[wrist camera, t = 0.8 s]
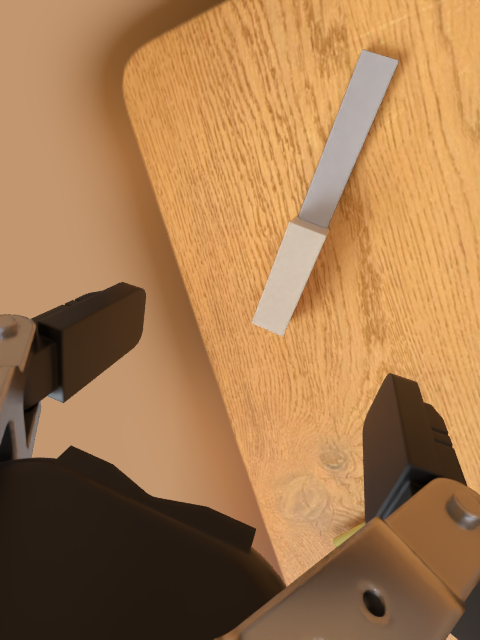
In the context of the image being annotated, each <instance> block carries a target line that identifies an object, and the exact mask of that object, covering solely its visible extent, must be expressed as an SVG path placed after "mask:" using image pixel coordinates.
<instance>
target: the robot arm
mask: <svg viewBox="0 0 480 640" xmlns="http://www.w3.org/2000/svg"><path fill="white" fill-rule="evenodd" d="M145 301H146V293H145V290H143V289H142V288H139V287H136V286H133V285H130V284H127V283H124V282H121V283H118V284H116V285H114V286H112V287H110V288H107V289H105V290H103V291H98V292H93V293H88V294H85V295H83V296H81V297H79V298H77V299H75V301H74V300H72V301H70V302H68V303H65V305H61V306H58V307H56V308H54V309H52V310H50V311H47V312H45V313H43V314H41V315H38V316H36V317H34V318H32V319H29V318H27V317H24V316H20V315H10V314H8V315H7V314H5V315H0V640H446V638H447V637H448V635H449V634H450V633H451V634H452V635H453V636H454V637H456V638H457V639H458V640H480V495H479V494H478V493H476V492H475V491H474V490H472V489H471V488H469V487H468V486H467V484H466V481H465V478H464V475H463V472H462V470H461V467H460V464H459V461H458V459H457V456H456V453H455V450H454V448H452V446H453V445H452V442H451V439H450V437H449V436H448V431H447V428H446V425H445V423H444V420H443V418H442V417H441V416H440V415H439V414H438V412H437V411H436V410H435V409H434V408H433V406H432V405H430V404H427V403H424V402H423V399H422V396H421V393H420V389H419V386H418V383H417V382H415V381H412V380H409V379H406V378H403V377H400V376H397V375H394V374H392V373H389V374H388V375H387V376H386V378H385V379H384V381H383V383H382V385H381V387H380V389H379V391H378V393H377V395H376V397H375V399H374V401H373V403H372V405H371V407H370V409H369V411H368V413H367V416H366V419H365V422H364V426H363V465H364V498H365V525H364V526H363V527H362V528H360V529H359V530H358V531H357V532H355V533H354V534H353V535H352V536H350V537H349V538H348V539H347V540H345V541H344V542H343V543H342V544H340V545H339V546H338V547H337V548H335V549H334V550H333V551H332V552H330V553H329V554H328V555H326V556H325V557H324V558H323V559H321V560H320V561H319V562H318V563H316V564H315V565H314V566H313V567H311V568H310V569H309V570H308V571H306V572H305V573H304V574H303V575H301V576H300V577H299V578H298V579H296V580H295V581H294V582H293V583H291V584H290V585H289V586H288V587H286V585H285V584H284V582H283V581H282V579H281V577H280V576H279V575H278V574H277V572H276V571H275V570H274V569H273V567H272V566H271V565H270V564H269V563H268V562H267V561H266V560H265V559H264V557H263V556H262V555H261V554H260V553H258V552H257V551H256V550H255V549H254V548H252V547H251V546H252V542H253V539H254V535H255V531H256V529H255V528H253V527H251V526H249V525H246V524H244V523H242V522H240V521H238V520H235V519H233V518H231V517H229V516H227V515H224V514H222V513H220V512H218V511H215V510H213V509H211V508H209V507H206V506H200V505H195V504H189V503H184V502H178V501H173V500H167V499H162V498H156V497H153V496H151V495H149V494H147V493H146V492H145V491H144V490H143V489H141V488H140V487H139V486H138V485H137V484H135V483H134V482H133V481H132V480H131V479H130V478H128V477H127V476H126V475H125V474H124V473H122V472H121V471H120V470H119V469H118V468H117V467H115V466H114V465H113V464H111V463H109V462H107V461H104V460H102V459H100V458H98V457H95V456H93V455H91V454H89V453H87V452H84V451H82V450H80V449H78V448H75V447H73V446H70V447H69V448H68V449H67V450H66V451H65V452H64V453H62V454H61V455H60V456H59V457H58V458H57V459H55V458H31V457H32V451H33V446H34V441H35V437H36V432H37V427H38V421H39V417H40V412H41V400H42V399H43V398H45V397H46V396H48V397H50V398H53V399H55V400H57V401H60V402H62V403H64V402H65V401H67V400H68V399H69V398H71V397H72V396H73V395H74V394H76V393H77V392H78V391H79V390H81V389H82V388H83V387H84V386H86V385H87V384H88V383H90V382H91V381H92V380H93V379H95V378H96V377H97V376H99V375H100V374H101V373H102V372H104V371H105V370H106V369H107V368H109V367H110V366H111V365H113V364H114V363H115V362H116V361H117V360H119V359H120V358H121V357H123V356H124V355H125V354H127V353H128V352H129V351H130V350H132V349H133V348H134V347H135V346H136V345H137V343H138V342H139V340H140V338H141V335H142V331H143V323H144V312H145Z"/></svg>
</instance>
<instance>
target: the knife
mask: <svg viewBox="0 0 480 640" xmlns="http://www.w3.org/2000/svg"><path fill="white" fill-rule="evenodd" d="M398 63H399V60H397V59H393V58H390V57H387V56H384V55H380V54H377V53H374V52H370V51H367V50H362V52H361V54H360V57H359V60H358V62H357V65H356V67H355V70H354V73H353V75H352V78H351V80H350V83H349V86H348V88H347V91H346V93H345V96H344V99H343V101H342V104H341V106H340V109H339V112H338V114H337V117H336V119H335V122H334V125H333V127H332V130H331V133H330V135H329V138H328V140H327V143H326V146H325V148H324V151H323V153H322V156H321V159H320V161H319V164H318V166H317V169H316V172H315V174H314V177H313V179H312V182H311V185H310V187H309V190H308V193H307V195H306V198H305V200H304V203H303V206H302V208H301V211H300V213H299V216H298V217H295V218H294V219H293V220H291V221H290V222H289V224H288V227H287V229H286V232H285V235H284V237H283V240H282V243H281V245H280V248H279V251H278V254H277V256H276V259H275V262H274V264H273V267H272V270H271V272H270V275H269V278H268V280H267V283H266V286H265V288H264V291H263V294H262V296H261V299H260V302H259V304H258V307H257V310H256V312H255V315H254V318H253V320H252V323H253V324H255V325H257V326H260V327H262V328H264V329H267V330H269V331H271V332H274V333H276V334H278V335H280V336H284V333H285V331H286V329H287V327H288V324H289V322H290V320H291V317H292V315H293V313H294V311H295V308H296V306H297V304H298V301H299V299H300V297H301V294H302V292H303V290H304V288H305V285H306V283H307V281H308V278H309V276H310V274H311V271H312V269H313V267H314V265H315V262H316V260H317V258H318V255H319V253H320V251H321V248H322V246H323V244H324V242H325V239H326V237H327V235H328V232H329V228H327V227H328V225H329V223H330V221H331V218H332V216H333V214H334V211H335V209H336V207H337V204H338V202H339V200H340V197H341V195H342V193H343V190H344V188H345V186H346V183H347V181H348V179H349V176H350V174H351V172H352V169H353V167H354V165H355V163H356V160H357V158H358V156H359V153H360V151H361V149H362V146H363V144H364V142H365V139H366V137H367V135H368V132H369V130H370V128H371V125H372V123H373V121H374V118H375V116H376V114H377V111H378V109H379V107H380V105H381V102H382V100H383V98H384V95H385V93H386V91H387V88H388V86H389V84H390V81H391V79H392V77H393V74H394V72H395V70H396V67H397V65H398Z"/></svg>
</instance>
